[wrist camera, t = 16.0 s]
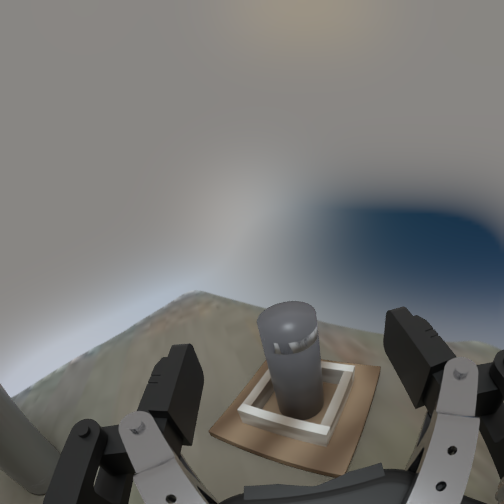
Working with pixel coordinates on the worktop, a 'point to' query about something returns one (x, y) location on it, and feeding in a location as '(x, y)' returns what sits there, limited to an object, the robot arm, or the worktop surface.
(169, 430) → the robot arm
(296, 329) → the dark grey cylinder
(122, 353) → the worktop surface
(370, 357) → the worktop surface
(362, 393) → the mount board
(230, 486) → the worktop surface
